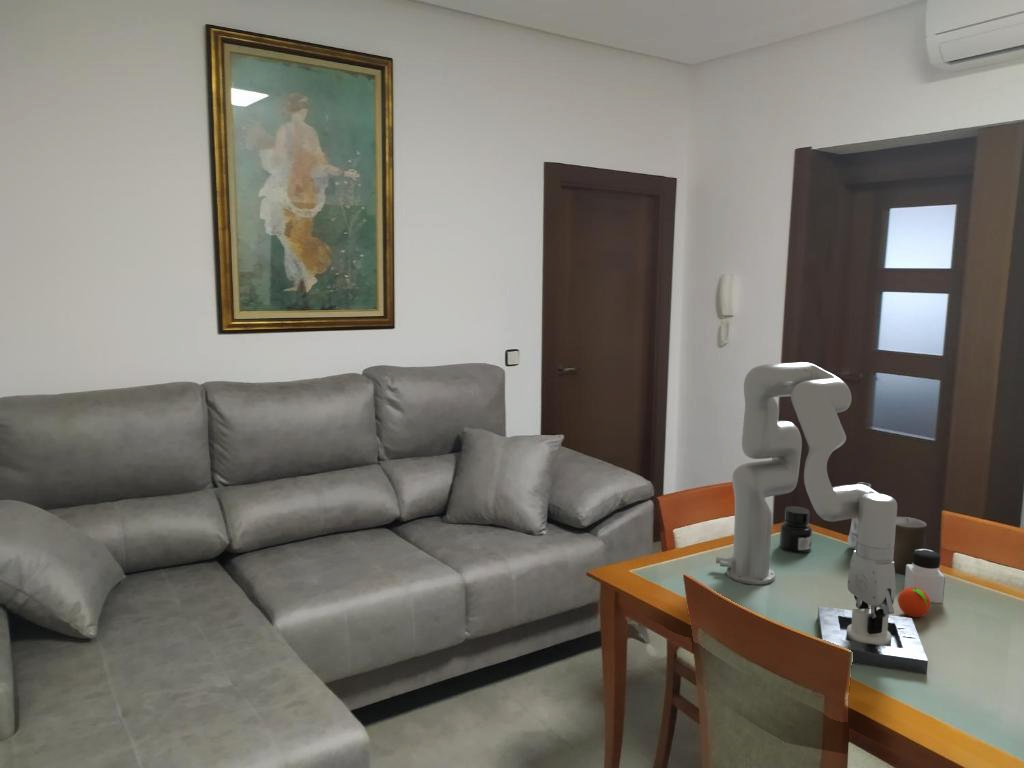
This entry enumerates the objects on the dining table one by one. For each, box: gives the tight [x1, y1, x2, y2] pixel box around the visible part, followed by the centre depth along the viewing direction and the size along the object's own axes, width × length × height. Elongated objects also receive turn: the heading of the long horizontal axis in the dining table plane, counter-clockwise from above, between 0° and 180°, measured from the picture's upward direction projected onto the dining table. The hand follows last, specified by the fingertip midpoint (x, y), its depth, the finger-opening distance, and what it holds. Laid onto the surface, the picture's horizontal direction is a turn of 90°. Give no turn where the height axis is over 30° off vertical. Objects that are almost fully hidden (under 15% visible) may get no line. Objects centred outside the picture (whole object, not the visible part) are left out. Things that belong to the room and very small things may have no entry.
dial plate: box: [817, 605, 929, 675], centre depth 169 cm, size 20×20×3 cm
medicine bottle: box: [903, 548, 946, 604], centre depth 192 cm, size 7×7×12 cm
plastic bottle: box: [847, 482, 872, 551], centre depth 223 cm, size 6×7×20 cm
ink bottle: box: [779, 505, 813, 554], centre depth 225 cm, size 10×9×12 cm
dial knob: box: [847, 607, 892, 646], centre depth 168 cm, size 9×9×7 cm
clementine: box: [897, 587, 931, 618], centre depth 182 cm, size 8×7×7 cm
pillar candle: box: [893, 516, 928, 576], centre depth 209 cm, size 10×10×15 cm
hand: (868, 628), depth 169 cm, fingers closed on dial knob, 2 cm apart
